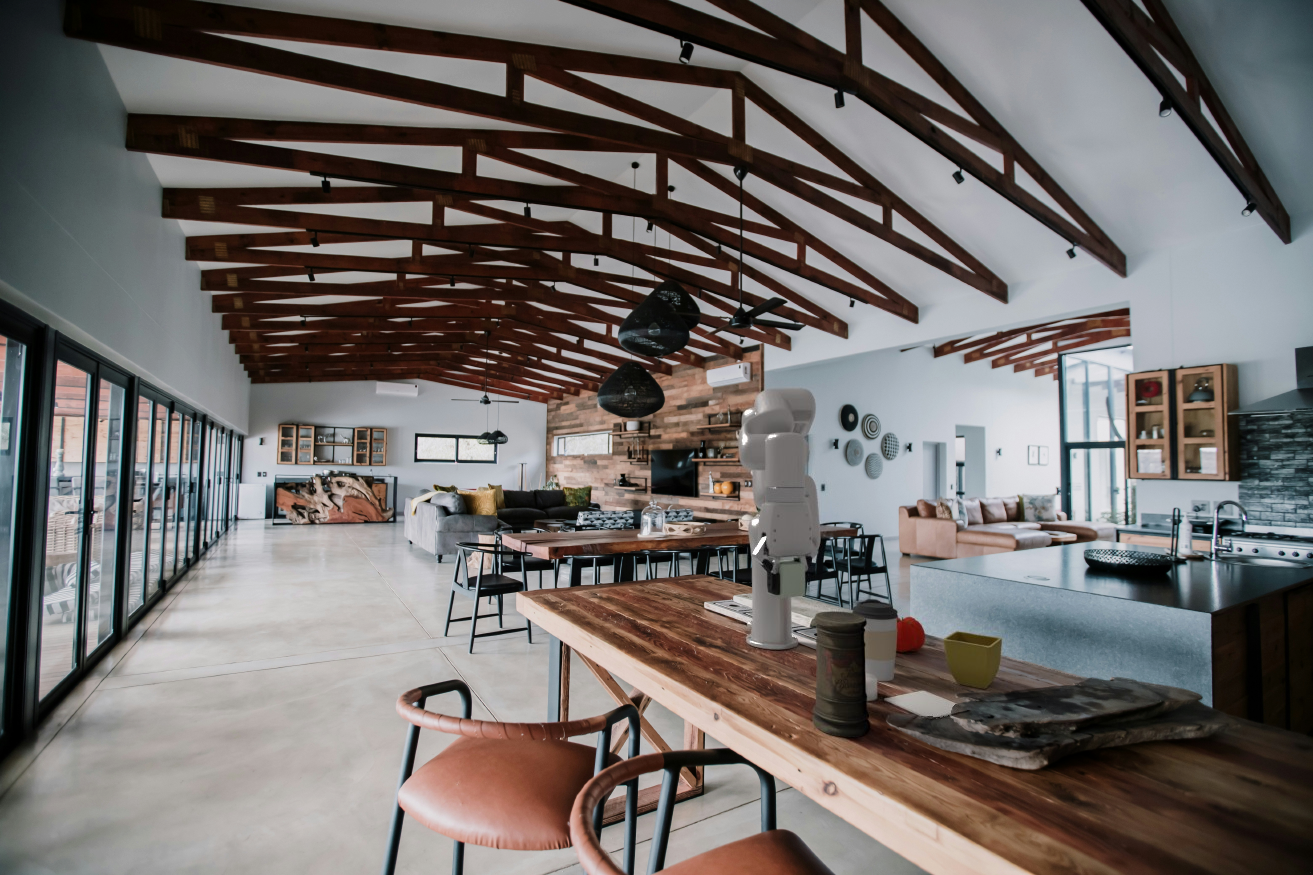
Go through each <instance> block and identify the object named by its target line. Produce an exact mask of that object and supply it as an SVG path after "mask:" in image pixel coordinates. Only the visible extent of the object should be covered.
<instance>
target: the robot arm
mask: <svg viewBox="0 0 1313 875" xmlns="http://www.w3.org/2000/svg"><path fill="white" fill-rule="evenodd" d="M816 411H817V404H816V399H815V397H814V394H813V393H812V392H811V391H810V390H809V389H807V388H803V387H801V388H799V387H798V388H796V387H795V388H793V387H792V388H789V387H788V388H786V387H784V388H783V387H782V388H781V387H780V388H768V389H765V390H762V391H761V392H759V393H758V394H757V396H755V399H754V406H752V407H748V408H747V409H745V410H744V411H743V413H742V415H741V428H740V430H739V434H738V440H737V441H738V442H737V444H738V458H739V462H740V464H741V466H742V467H743V468H744V469H745V470H748V471H752V494H753V495H752V496H753V501H754V505H755V506H756V508H758V509H759V510H760V511H759V514H758V515H755V516H753V517H752V518H751V519H750V521H749V523H748V529H747V530H748V532H747V533H748V540H749V545H750V546H749V547H750V556H751V583H752V584H751V586H752V587H751V588H752V589H751V590H752V591H751V592H752V594H751V595H752V596H751V598H752V601H751V602H752V603H751V605H752V607H751V608H752V620H751V621H747V623H746V625H747V628H750V629H751V630H750V633H749V634H747V635H746V637H745V639H746V640H745V641H746V643H747V644H748V645H749V646H752V647H755V648H759V649H764V650H788V649H794V648H796V647H797V646H798V645H799V639H798V637H796V636H795V637H796V638H795V637H792V633H793V631H792V625H793V624H792V623H793V622H792V619H793V618H792V597H787V598H782V597H779V596H776V595H780V574H779V573H777V571H778V567H779V563H780V561H783V560H784V559H783V558H790V557H791V561H795V562H800V563H805V572H807V571H808V569H809V565H810V564H811V563H812V561H813V559H814V558H815V557H817V555H818V554H819V547H820V544H821V524H820V510H819V501H818V500H819V499H818V491H817V485H816V483H815V480H814V478H813V477H812V476H810V475H808V474H806V465H807V463H809V461H810V454H811V453H810V452H811V451H810V444H809V443H808V442H807V440H806V438H805V437H806V436H807V435H808V434H809V433H810V430H811V427H812V425H813V423H814V420H815V417H816ZM772 561H773V562H772ZM769 593H771V594H769ZM772 594H774V595H772Z"/></svg>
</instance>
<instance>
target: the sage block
mask: <svg viewBox="0 0 1313 875" xmlns="http://www.w3.org/2000/svg"><path fill="white" fill-rule="evenodd" d="M772 562H773V561H772ZM777 573H779V574H780V595H776V596H779V597H782V598H787V597H791V598H795V597H805V596H806V571H805V563H800V562H795V561H792V560H789V559H786V560H784V559H783V561H780V563H779V567H778V571H777ZM769 594H771V593H769ZM772 595H774V594H772Z"/></svg>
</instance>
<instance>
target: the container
mask: <svg viewBox="0 0 1313 875" xmlns="http://www.w3.org/2000/svg"><path fill="white" fill-rule="evenodd" d="M813 619H814V622H815V623H816V625H815V628H816V639H815V642H816V646H815V648H816V655H815V656H816V683H815V684H816V685H815V686H816V687H815V704H814V706H813V712H814V714H813V715H812V723H813V725H814V726H815V727H816V729H818V730H819V731H821V732H823V733H826V734H828V735H831V736H836V737H844V738H858V737H863V736H865V735H868V733H869V732H870V730H871V722H870V720H869V718H870V716H871V715H870V712H869V711H868V704H867V703H868V701H867V694H866V672H865V646H866V644H865V642H864V632H865V628H864V627H865V626H866V624H867V621H866V618H865V617H863V616H861V615H858V614H854V613H852V612H846V611H821V612H817V613H816V614H815V615H814V618H813Z"/></svg>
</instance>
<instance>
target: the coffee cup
mask: <svg viewBox="0 0 1313 875" xmlns="http://www.w3.org/2000/svg"><path fill="white" fill-rule="evenodd" d="M851 613H854V614H858V615H861V616H863V617H865V618H866V621H867V624H866V626H865V627H864V628H865V632H864V642H865V644H866V646H865V672H866V673H869V674H872V675H874V676H876V677H877V682H888V681H889V682H890V681H892V680H894V678H895V677H894V676H895V662H896V657H897V651H896V644H897V628H896V627H897V618H899V615H898V610H897V609H896V608H894V607H893V604H891V603H888V602H884V601H883V602H882V601H881V600H879V599H876V598H875V599H874V598H868V599H865V600H863V601H858V602H857V603H856V606H853V607H852V612H851Z"/></svg>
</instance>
